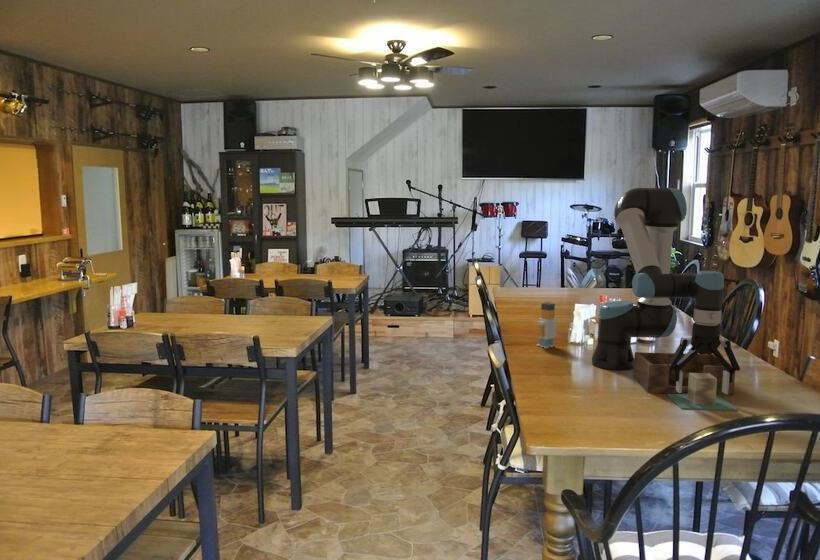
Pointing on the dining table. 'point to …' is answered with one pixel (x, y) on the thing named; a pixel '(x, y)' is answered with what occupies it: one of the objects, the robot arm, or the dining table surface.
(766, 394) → the dining table surface
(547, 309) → the character figure
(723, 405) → the mat
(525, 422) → the dining table surface
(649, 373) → the crate
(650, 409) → the dining table surface
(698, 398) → the block
